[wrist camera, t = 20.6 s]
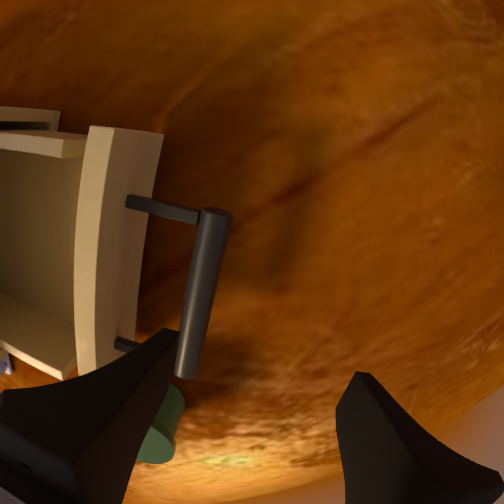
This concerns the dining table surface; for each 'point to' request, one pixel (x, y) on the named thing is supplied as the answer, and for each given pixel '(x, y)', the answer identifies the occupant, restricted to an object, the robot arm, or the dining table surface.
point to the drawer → (91, 248)
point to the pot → (163, 430)
